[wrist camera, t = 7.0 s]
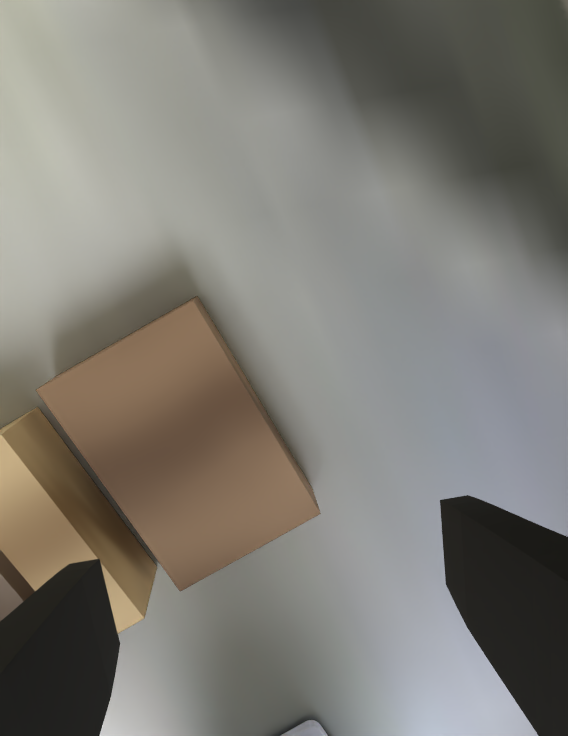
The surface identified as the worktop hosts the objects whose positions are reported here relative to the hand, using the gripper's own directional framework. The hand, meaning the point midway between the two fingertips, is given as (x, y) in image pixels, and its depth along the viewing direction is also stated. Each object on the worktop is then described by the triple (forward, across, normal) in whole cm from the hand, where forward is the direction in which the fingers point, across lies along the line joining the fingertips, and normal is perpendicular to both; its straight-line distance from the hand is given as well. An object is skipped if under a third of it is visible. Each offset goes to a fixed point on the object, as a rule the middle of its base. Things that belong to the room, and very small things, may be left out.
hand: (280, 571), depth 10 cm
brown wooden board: (+10, +3, 0) cm, 10 cm away
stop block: (+10, +8, +2) cm, 12 cm away
